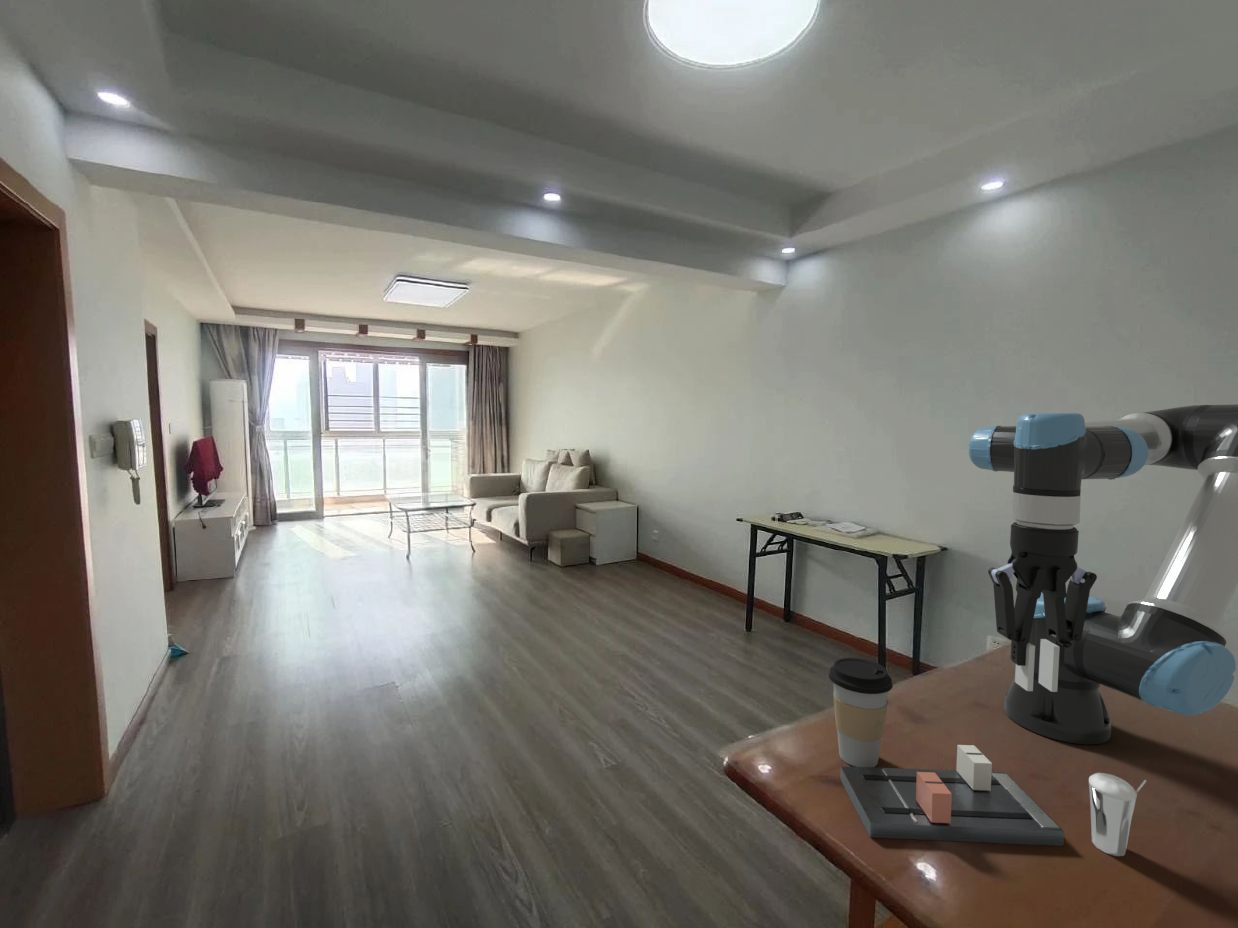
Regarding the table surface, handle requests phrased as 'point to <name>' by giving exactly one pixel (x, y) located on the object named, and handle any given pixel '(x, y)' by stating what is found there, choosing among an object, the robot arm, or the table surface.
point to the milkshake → (1111, 812)
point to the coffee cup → (860, 708)
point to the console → (974, 813)
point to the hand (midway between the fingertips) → (1035, 686)
